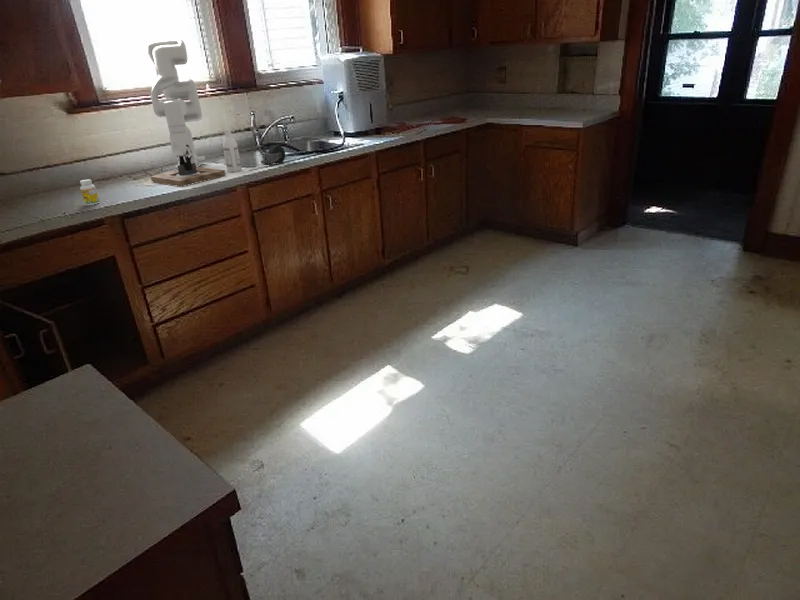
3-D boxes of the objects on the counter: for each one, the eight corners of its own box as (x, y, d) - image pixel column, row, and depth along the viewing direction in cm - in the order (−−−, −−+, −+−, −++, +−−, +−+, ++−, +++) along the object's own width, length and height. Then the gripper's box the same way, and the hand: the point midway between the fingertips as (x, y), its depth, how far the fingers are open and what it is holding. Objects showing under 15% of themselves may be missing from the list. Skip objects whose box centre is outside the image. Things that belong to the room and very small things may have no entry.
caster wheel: (280, 163, 278) (258, 166, 267) (279, 144, 275) (256, 146, 264) (288, 164, 275) (265, 167, 264) (286, 144, 272) (264, 146, 260)
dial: (174, 178, 252) (171, 164, 250) (198, 174, 258) (195, 160, 255) (179, 182, 244) (176, 167, 241) (203, 178, 249) (200, 164, 246)
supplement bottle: (102, 203, 216) (95, 179, 212) (89, 206, 212) (81, 182, 208) (95, 201, 219) (88, 178, 215) (82, 204, 215) (75, 181, 211)
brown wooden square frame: (196, 171, 266) (195, 166, 265) (225, 175, 253) (224, 169, 251) (152, 181, 249) (150, 175, 248) (180, 186, 236) (179, 180, 234)
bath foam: (240, 168, 266) (233, 127, 257) (243, 171, 260) (235, 128, 252) (226, 170, 263) (218, 128, 255) (228, 173, 258) (220, 130, 249)
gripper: (160, 129, 243) (170, 170, 251) (179, 131, 234) (189, 173, 242) (175, 127, 249) (184, 167, 256) (195, 128, 239) (203, 170, 247)
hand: (186, 169), depth 249 cm, fingers closed on dial, 3 cm apart
